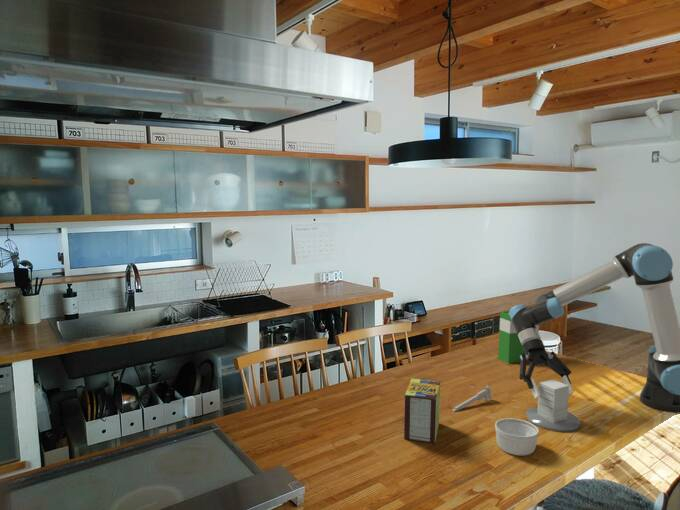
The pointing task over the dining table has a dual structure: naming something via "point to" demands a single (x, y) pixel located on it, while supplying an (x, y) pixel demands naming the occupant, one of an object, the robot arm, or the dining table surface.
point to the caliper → (475, 398)
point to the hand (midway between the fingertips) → (554, 395)
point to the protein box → (422, 410)
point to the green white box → (509, 340)
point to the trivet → (561, 426)
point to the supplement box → (553, 400)
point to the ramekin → (516, 436)
